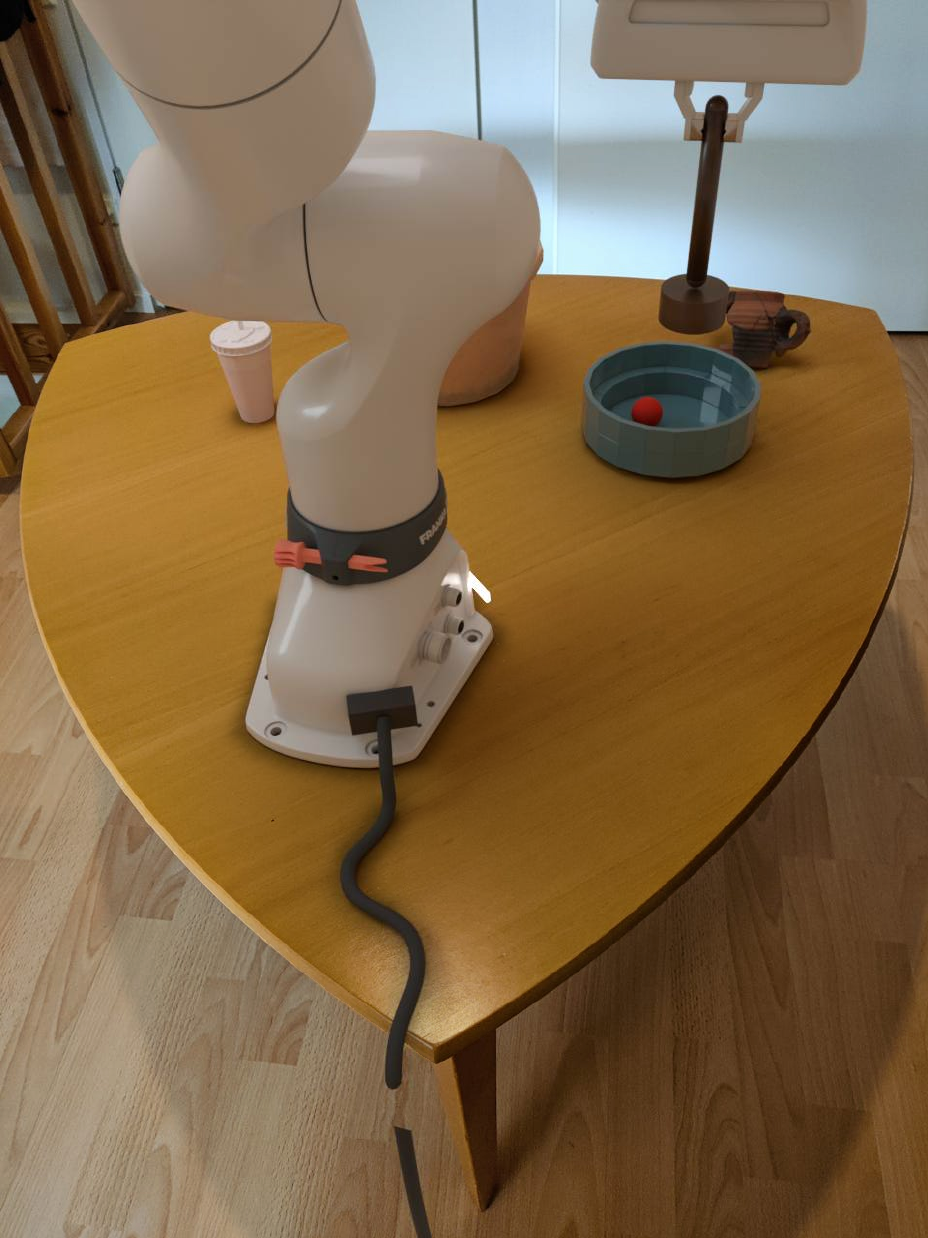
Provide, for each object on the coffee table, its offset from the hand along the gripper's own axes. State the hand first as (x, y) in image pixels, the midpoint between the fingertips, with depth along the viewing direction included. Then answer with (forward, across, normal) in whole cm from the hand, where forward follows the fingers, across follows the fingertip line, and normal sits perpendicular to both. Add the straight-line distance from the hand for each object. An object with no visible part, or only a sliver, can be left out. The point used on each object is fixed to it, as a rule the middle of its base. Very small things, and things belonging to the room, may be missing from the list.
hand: (713, 139), depth 81 cm
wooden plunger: (+16, 0, 0) cm, 16 cm away
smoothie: (+30, -45, -2) cm, 54 cm away
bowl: (+30, -1, +2) cm, 30 cm away
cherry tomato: (+27, -3, +2) cm, 28 cm away
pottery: (+30, -27, +11) cm, 42 cm away
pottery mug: (+30, +7, +21) cm, 37 cm away
